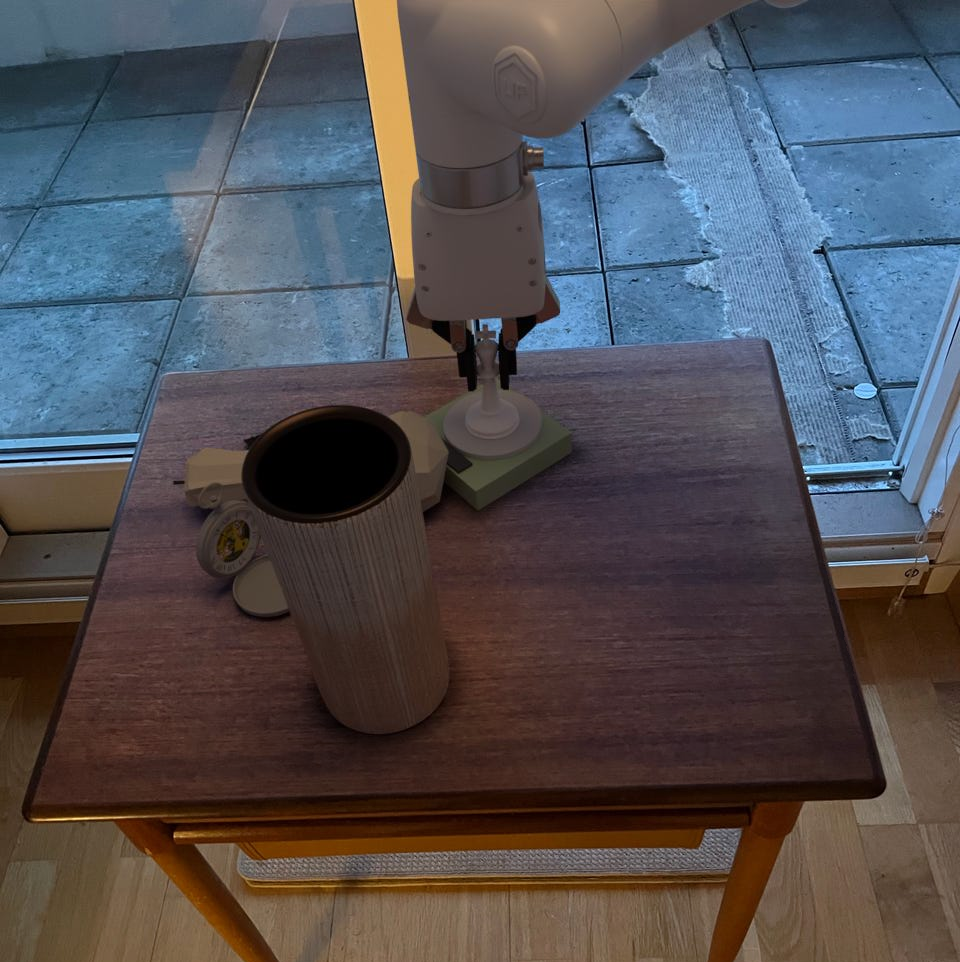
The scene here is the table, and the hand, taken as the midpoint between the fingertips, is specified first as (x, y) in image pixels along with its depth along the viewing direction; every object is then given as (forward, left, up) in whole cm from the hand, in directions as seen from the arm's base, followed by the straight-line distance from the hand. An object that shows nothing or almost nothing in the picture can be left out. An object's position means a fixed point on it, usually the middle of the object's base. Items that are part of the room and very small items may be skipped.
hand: (489, 379), depth 82 cm
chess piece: (0, 0, -5) cm, 5 cm away
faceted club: (+16, -6, -8) cm, 19 cm away
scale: (+1, 0, -8) cm, 8 cm away
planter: (+23, +15, -8) cm, 28 cm away
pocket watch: (+25, 0, -8) cm, 26 cm away
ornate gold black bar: (+14, -15, -8) cm, 22 cm away
